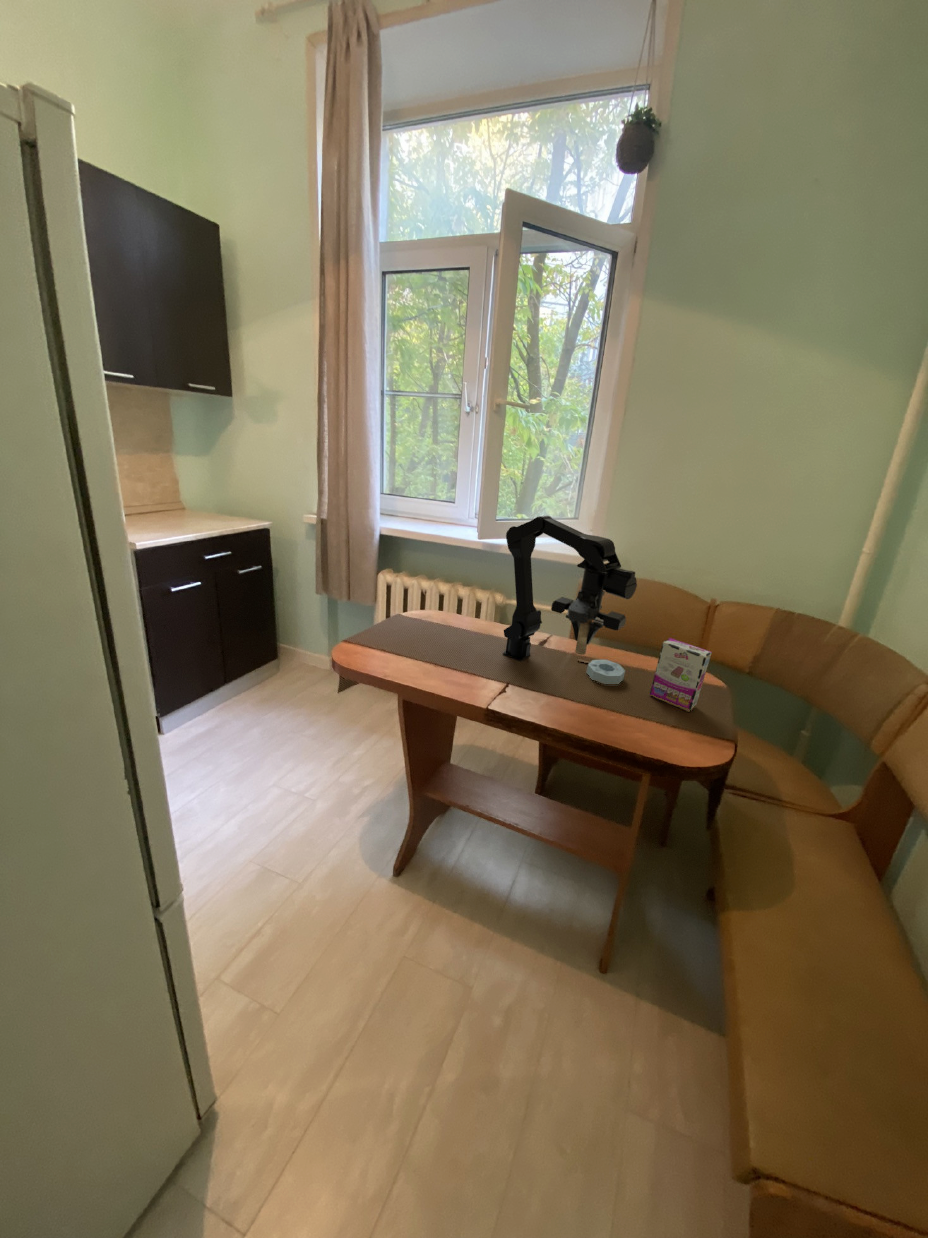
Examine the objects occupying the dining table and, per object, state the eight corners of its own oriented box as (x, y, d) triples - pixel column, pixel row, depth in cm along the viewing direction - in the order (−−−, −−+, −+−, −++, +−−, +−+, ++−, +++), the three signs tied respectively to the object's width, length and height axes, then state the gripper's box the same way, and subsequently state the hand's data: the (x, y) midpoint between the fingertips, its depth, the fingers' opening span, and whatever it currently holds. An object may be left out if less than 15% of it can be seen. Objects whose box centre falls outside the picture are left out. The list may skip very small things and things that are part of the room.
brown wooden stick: (577, 661, 148) (578, 660, 147) (578, 660, 148) (578, 659, 148) (617, 671, 143) (618, 670, 143) (618, 670, 144) (618, 669, 144)
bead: (582, 676, 139) (584, 667, 138) (594, 665, 146) (596, 656, 145) (614, 688, 134) (617, 679, 133) (626, 676, 141) (628, 667, 140)
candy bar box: (696, 706, 129) (713, 651, 122) (689, 713, 125) (706, 657, 119) (655, 689, 135) (669, 636, 129) (648, 695, 132) (662, 641, 126)
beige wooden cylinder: (573, 652, 131) (579, 618, 127) (577, 648, 133) (583, 615, 130) (583, 655, 130) (589, 621, 126) (587, 652, 132) (594, 618, 128)
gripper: (545, 585, 123) (537, 640, 129) (616, 605, 113) (604, 663, 119) (564, 576, 132) (556, 628, 138) (632, 594, 122) (619, 649, 128)
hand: (582, 642), depth 130 cm, fingers closed on beige wooden cylinder, 3 cm apart
